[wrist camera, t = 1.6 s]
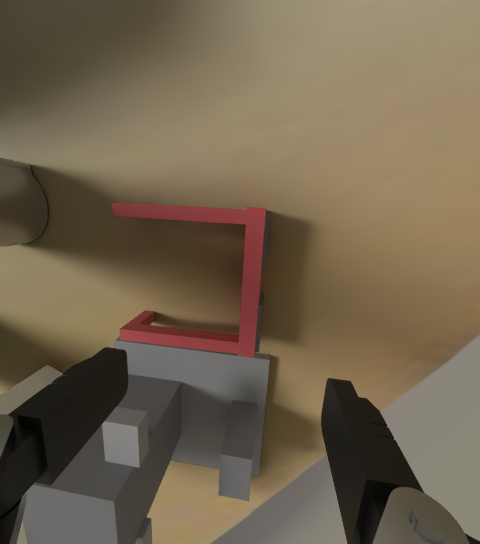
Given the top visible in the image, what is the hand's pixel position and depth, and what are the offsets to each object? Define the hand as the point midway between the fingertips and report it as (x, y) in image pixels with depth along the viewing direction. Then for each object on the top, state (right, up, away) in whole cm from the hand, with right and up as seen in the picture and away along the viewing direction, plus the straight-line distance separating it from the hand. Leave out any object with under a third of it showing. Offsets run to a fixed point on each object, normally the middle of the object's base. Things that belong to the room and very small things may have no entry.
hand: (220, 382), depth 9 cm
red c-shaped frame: (-4, +4, +18) cm, 19 cm away
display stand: (-6, -13, +22) cm, 26 cm away
